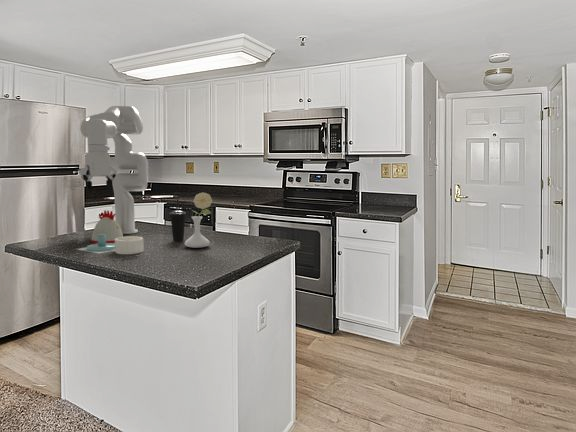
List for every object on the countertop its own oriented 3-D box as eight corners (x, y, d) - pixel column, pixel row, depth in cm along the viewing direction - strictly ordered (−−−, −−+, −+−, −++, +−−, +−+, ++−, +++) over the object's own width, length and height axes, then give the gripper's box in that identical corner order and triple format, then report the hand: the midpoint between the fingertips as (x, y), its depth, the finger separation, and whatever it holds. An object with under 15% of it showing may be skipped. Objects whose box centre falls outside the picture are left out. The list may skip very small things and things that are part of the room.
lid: (80, 249, 181) (80, 234, 180) (105, 244, 191) (104, 231, 191) (98, 252, 175) (97, 237, 174) (123, 247, 185) (122, 233, 185)
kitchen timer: (112, 245, 193) (110, 212, 192) (85, 243, 196) (83, 211, 194) (129, 239, 207) (128, 209, 205) (103, 238, 210) (102, 208, 208)
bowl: (109, 253, 177) (109, 239, 176) (131, 248, 186) (131, 235, 186) (127, 256, 171) (126, 242, 171) (148, 251, 181) (148, 238, 180)
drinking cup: (177, 242, 201) (176, 200, 199) (167, 240, 206) (166, 199, 203) (189, 240, 207) (189, 199, 205) (179, 238, 212) (178, 198, 209)
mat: (76, 250, 181) (76, 249, 181) (105, 245, 193) (105, 243, 193) (98, 255, 174) (98, 253, 174) (127, 249, 186) (127, 247, 185)
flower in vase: (180, 249, 188) (179, 192, 184) (190, 244, 199) (189, 190, 195) (208, 250, 185) (207, 193, 182) (217, 245, 196) (216, 191, 193)
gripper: (110, 150, 187) (111, 188, 189) (73, 148, 172) (75, 190, 174) (121, 150, 183) (122, 189, 185) (84, 148, 168) (86, 191, 171)
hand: (99, 190), depth 180 cm, fingers open, 9 cm apart
